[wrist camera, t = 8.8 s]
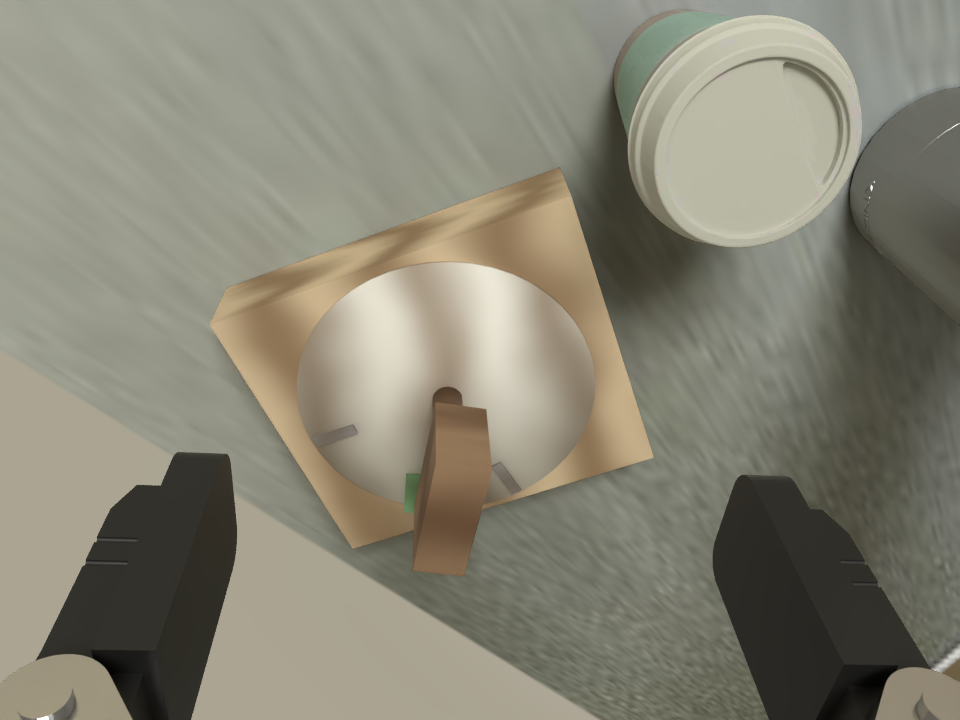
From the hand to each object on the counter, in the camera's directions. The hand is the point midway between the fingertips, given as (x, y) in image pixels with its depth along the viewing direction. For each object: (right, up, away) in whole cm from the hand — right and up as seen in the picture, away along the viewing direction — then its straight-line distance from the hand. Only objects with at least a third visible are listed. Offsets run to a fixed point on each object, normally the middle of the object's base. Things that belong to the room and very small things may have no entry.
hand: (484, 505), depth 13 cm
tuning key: (-2, -2, +31) cm, 32 cm away
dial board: (-2, +2, +34) cm, 34 cm away
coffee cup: (+9, +16, +26) cm, 32 cm away
